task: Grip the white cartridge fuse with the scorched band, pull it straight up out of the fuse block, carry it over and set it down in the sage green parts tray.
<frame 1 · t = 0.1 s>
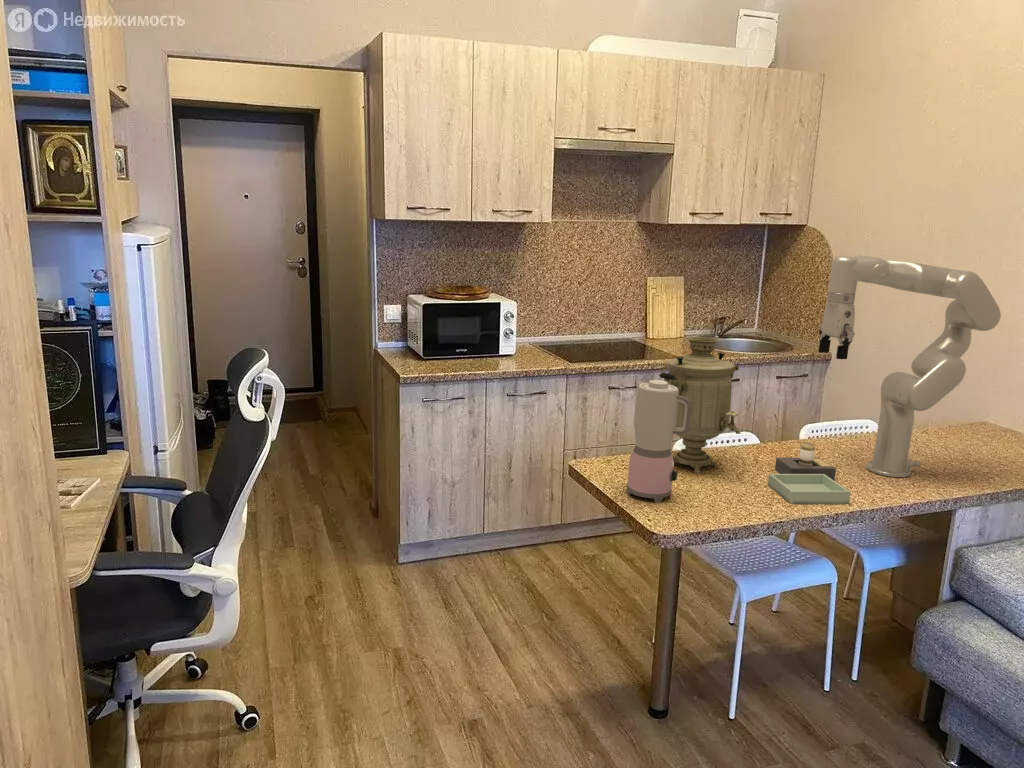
hand: (832, 355, 221), 37 cm above the table, tool pointing down, fingers open, 9 cm apart
blender: (654, 496, 203), on the table
fuse block: (803, 475, 225), on the table
samovar: (696, 469, 227), on the table
parts tray: (807, 494, 209), on the table
fuse: (806, 459, 223), in the fuse block
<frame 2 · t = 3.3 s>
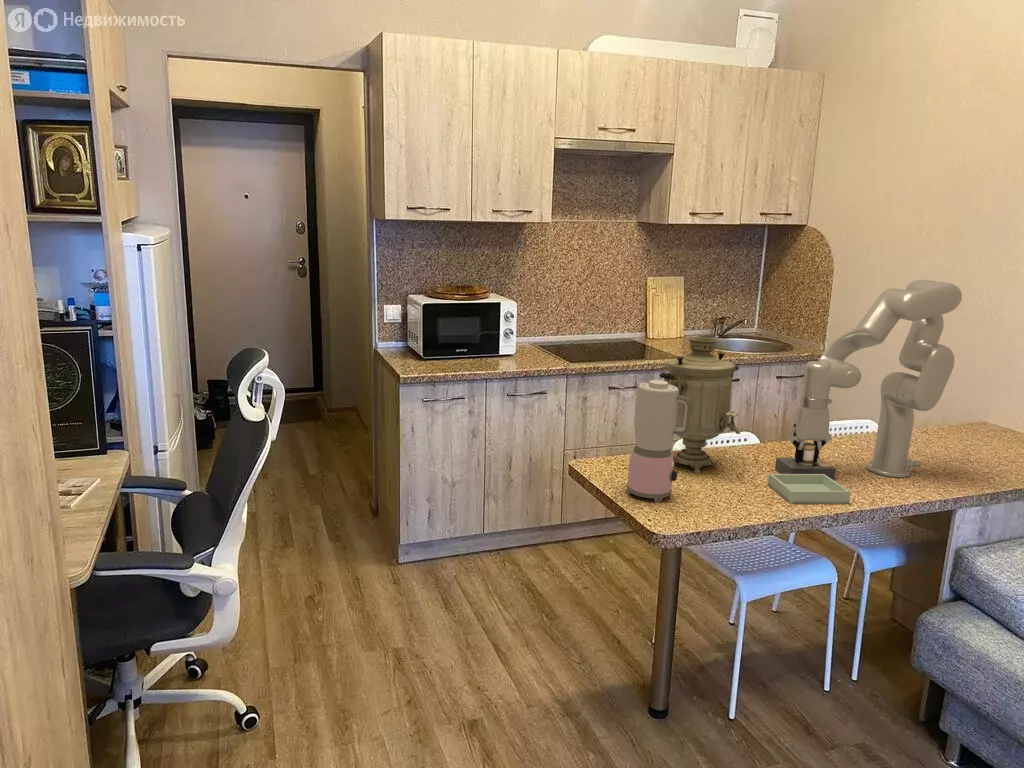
hand: (806, 460, 223), 5 cm above the table, tool pointing down, fingers closed on fuse, 4 cm apart
fuse: (806, 459, 223), in the fuse block, touching gripper
everything else where it was.
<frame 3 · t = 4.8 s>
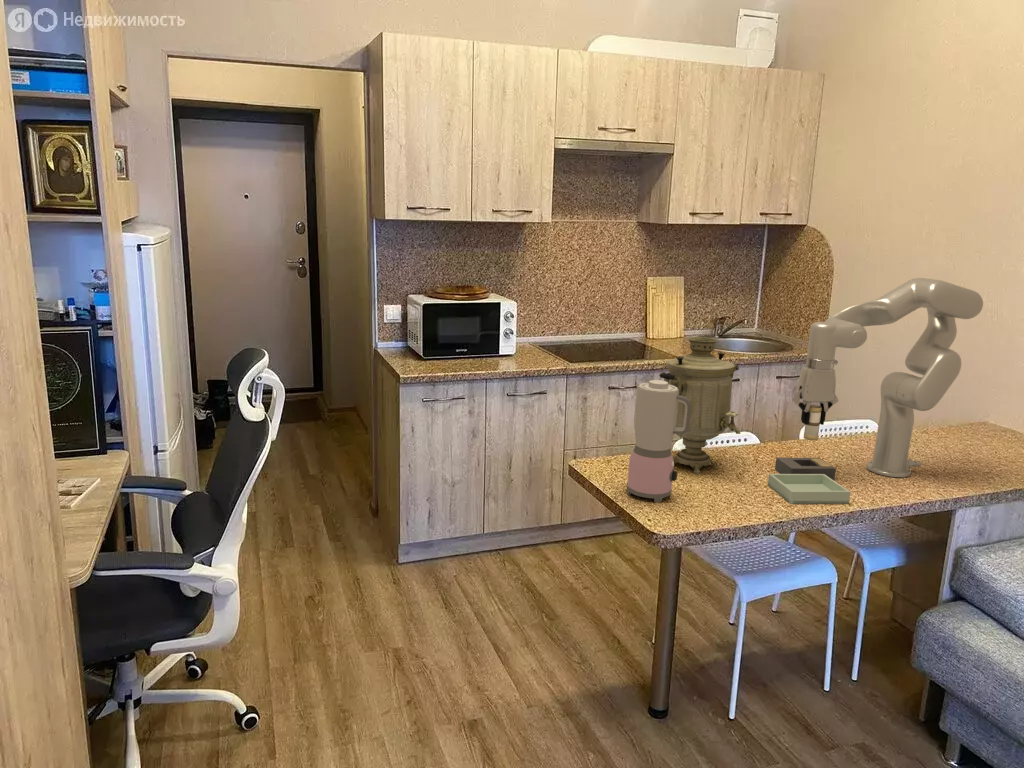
hand: (812, 423, 221), 17 cm above the table, tool pointing down, fingers closed on fuse, 4 cm apart
fuse: (812, 422, 221), point 17 cm above the table, touching gripper
everything else where it was.
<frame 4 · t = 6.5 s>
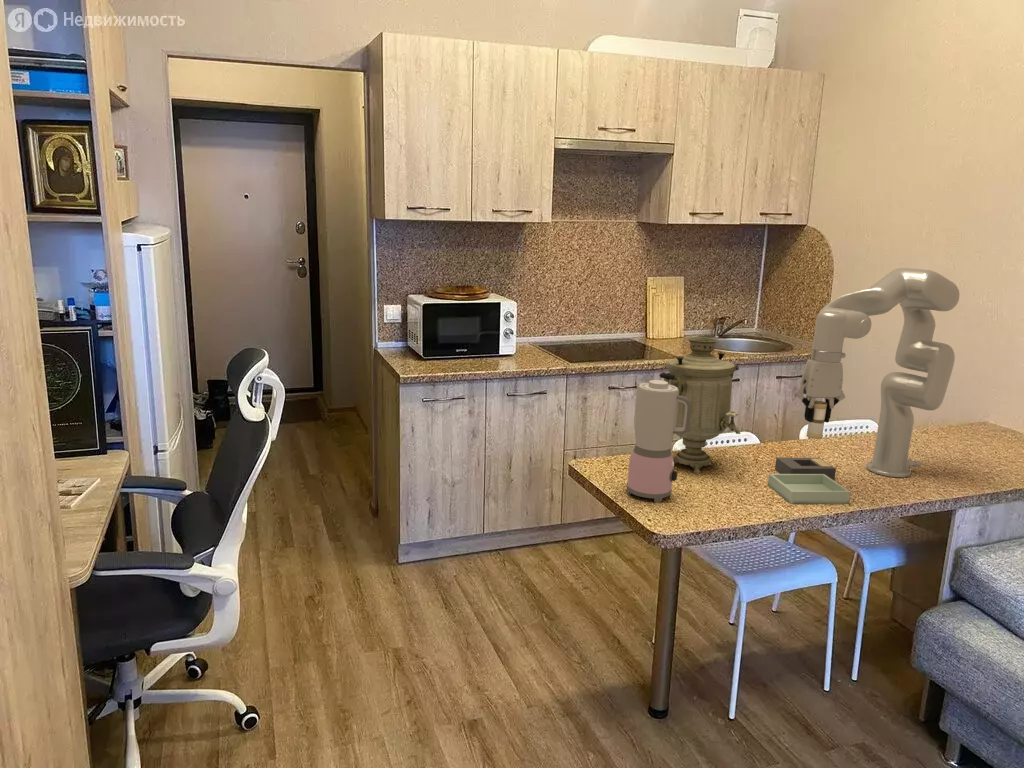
hand: (816, 420, 205), 22 cm above the table, tool pointing down, fingers closed on fuse, 4 cm apart
fuse: (816, 419, 205), point 22 cm above the table, touching gripper
everything else where it was.
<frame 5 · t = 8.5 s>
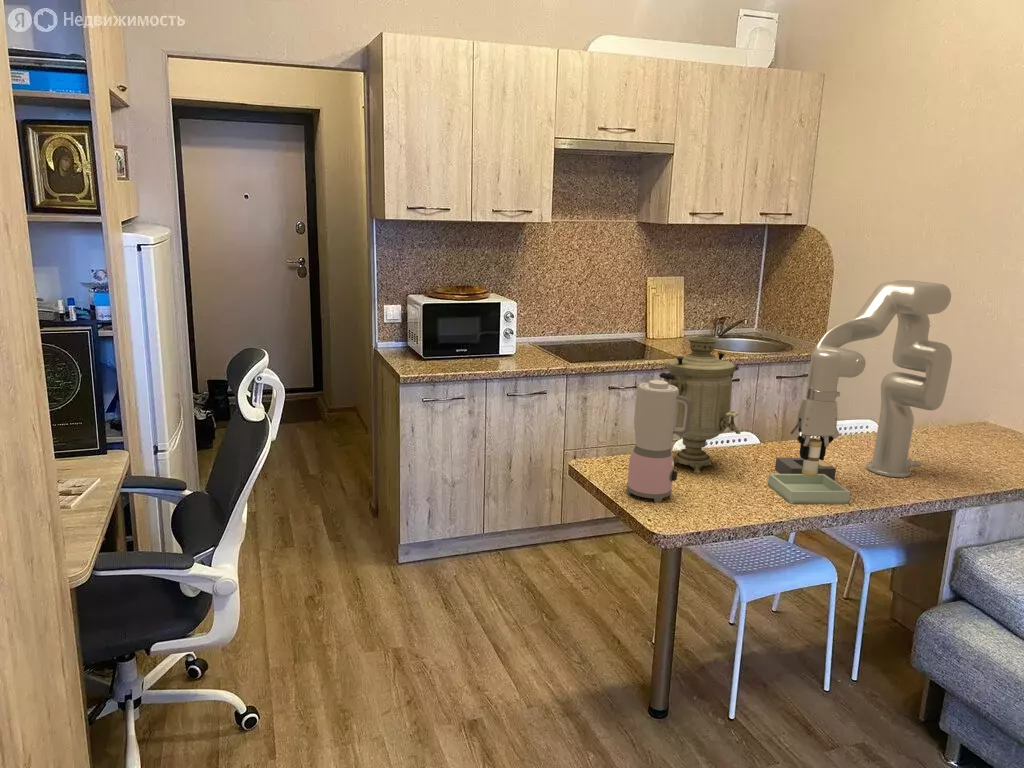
hand: (811, 457, 206), 11 cm above the table, tool pointing down, fingers closed on fuse, 4 cm apart
fuse: (811, 457, 206), point 11 cm above the table, touching gripper
everything else where it was.
when the fingers open (8 cm above the table, at t = 9.9 s): fuse drops 2 cm, resting on parts tray.
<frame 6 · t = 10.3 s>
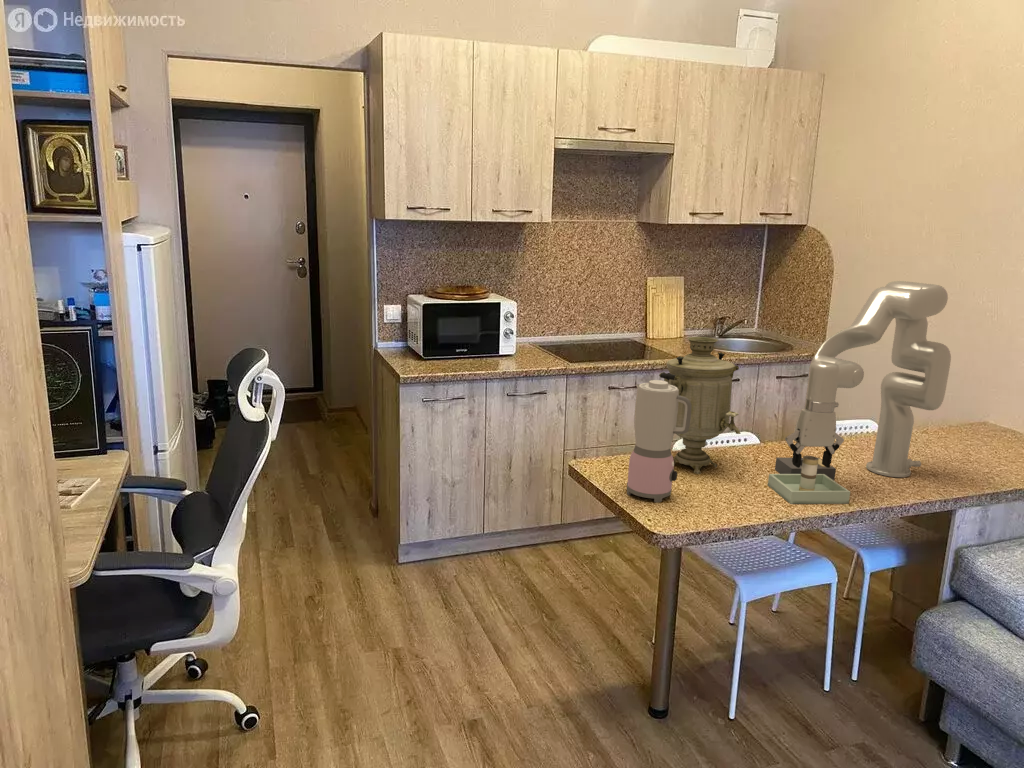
hand: (811, 465, 207), 9 cm above the table, tool pointing down, fingers open, 8 cm apart
fuse: (808, 474, 208), in the parts tray, point 6 cm above the table
everything else where it was.
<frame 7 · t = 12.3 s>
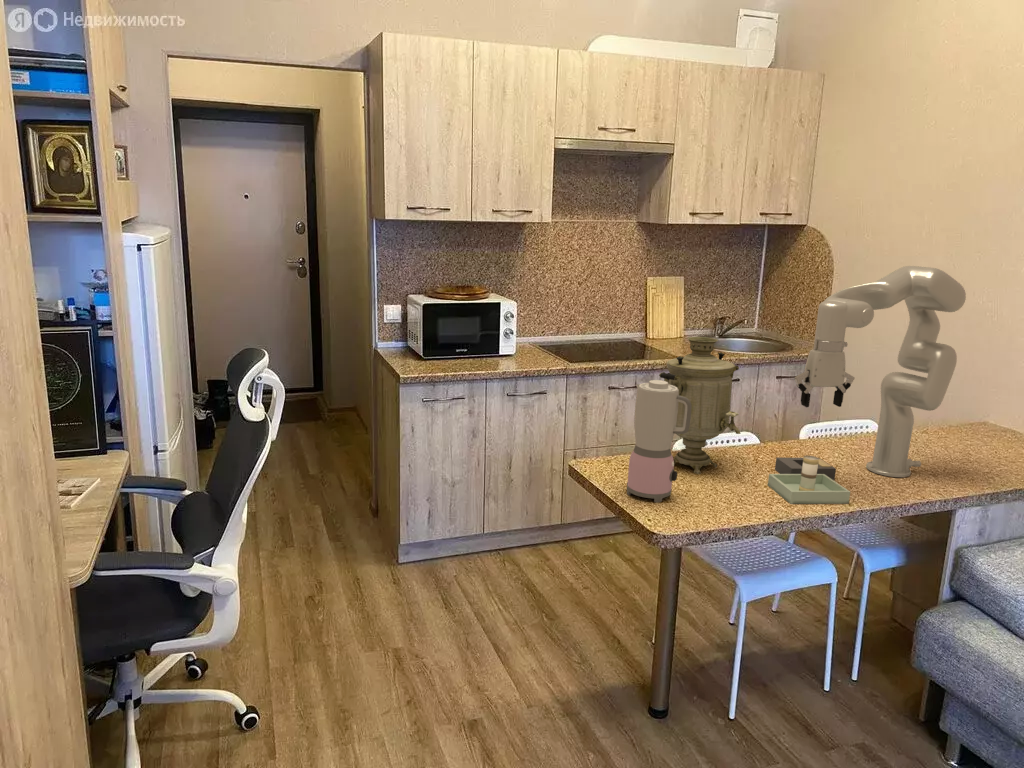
hand: (821, 405, 208), 25 cm above the table, tool pointing down, fingers open, 9 cm apart
nothing on the table moved.
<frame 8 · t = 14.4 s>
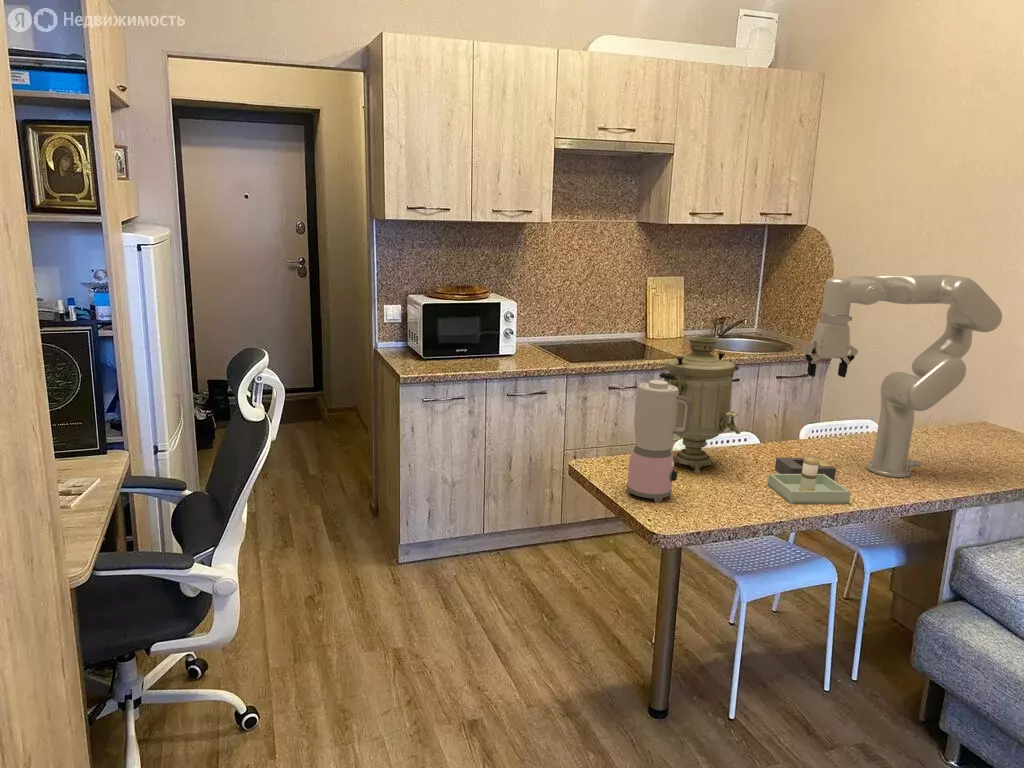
hand: (826, 376, 222), 30 cm above the table, tool pointing down, fingers open, 9 cm apart
nothing on the table moved.
at the end: fuse inside the target area on the parts tray (0.2 cm from its centre), point 5.9 cm above the parts tray's base; the gripper is holding nothing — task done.
